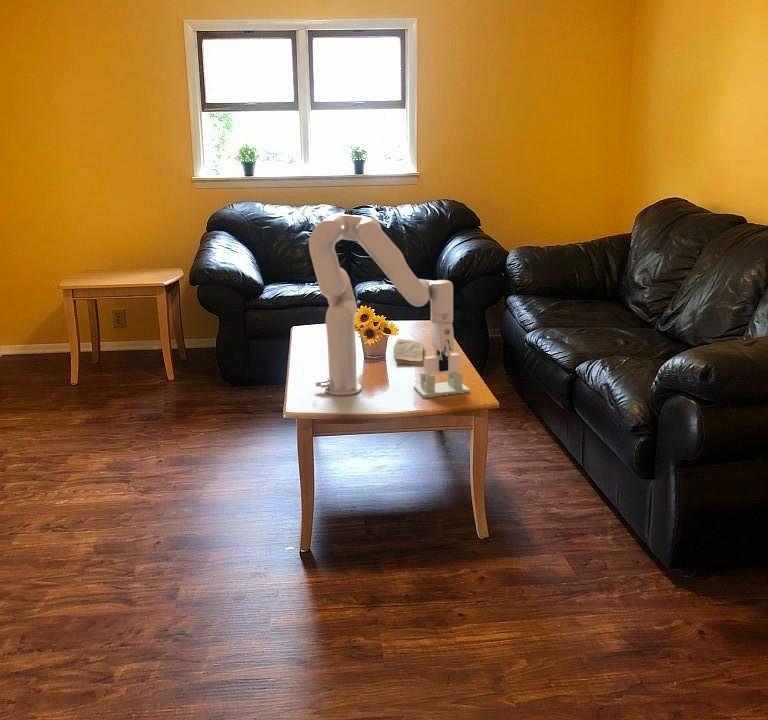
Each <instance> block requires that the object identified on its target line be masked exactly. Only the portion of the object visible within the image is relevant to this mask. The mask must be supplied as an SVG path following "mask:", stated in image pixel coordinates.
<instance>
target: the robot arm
mask: <svg viewBox="0 0 768 720" xmlns="http://www.w3.org/2000/svg"><path fill="white" fill-rule="evenodd" d="M340 240H345V241H355V242H357V243H359V245H360V246H361V247H362V248H363V250H365V252H366V253H367V254H368V255H369V257H371V258H372V260H373V261H374V262H375V264H377V265H378V267H379V268H380V269H381V270H382V272H383V274H385V276H386V277H387V278H388V279H389V280H390V282H391V283H392V284H393V286H394V288H395V289H396V290H397V291H398V293H400V295H402V297H403V298H404V299H405V300H406V301H407V302H408V304H410V305H412V306H413V307H418V308H419V307H423V306H425V305H426V304H428V302H429V301H430V323H431V345H432V347H433V348H434V352H435V354H434V356H435V355H440V360H439V371H448V360H449V356H450V354H451V352H454V351H455V341H454V340H455V337H454V336H455V335H454V333H455V332H454V327H453V325H454V324H453V322H454V285H453V282H452V281H450V280H448V279H447V280H446V279H437V280H431V279H422V278H418V277H417V275H415V274H414V272H413V270H412V269H411V268H410V267H409V265H408V263H407V262H406V259H405V256H404V254H403V253H402V252H401V250H400V249H399V247H397V246H396V244H395V243H394V242H393V241H392V240H391V238H390V237H388V235H387V234H386V233H385V232H384V231H383V230H382V226H381V223H380V222H379V221H378V220H377V219H375V218H373V217H369V216H360V215H351V214H342V213H332V214H329V215H328V216H326V217H324V219H322V220H321V221H320V222H319V223H318V224H317V225H316V226H315V227H314V228H313V230H312V232H311V234H310V236H309V240H308V248H309V254H310V257H311V258H310V259H311V261H312V266H313V269H314V273H315V277H316V280H317V285H318V288H319V291H320V293H321V295H323V297H325V298H326V299H327V303H328V307H327V310H326V313H325V326H326V327H325V328H326V337H327V338H326V339H327V340H326V341H327V358H328V359H327V360H328V361H327V362H328V376H327V377H326V378H325V379H324V380H317V381H316V380H315V386H316V387H320V388H321V389H323V388H324V390H325V391H324V392H326V393H327V394H329V395H333V396H351V395H355V394H358V393H360V392H361V391H362V385H361V383H360V384H359V383H358V382H357V352H356V351H357V350H356V349H357V348H356V347H357V346H356V331H355V330H356V329H355V328H356V327H355V320H356V316H357V314H358V305H357V301H356V298H355V294H354V290H353V287H352V284H351V282H352V281H351V279H350V276H349V275H348V273H347V271H346V270H345V269H344V268H343V267H341V266H340V262H339V258H338V255H337V254H338V253H337V252H336V249H335V246H336V244H337V243H338V242H340Z"/></svg>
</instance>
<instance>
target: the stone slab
mask: <svg viewBox="0 0 768 720" xmlns="http://www.w3.org/2000/svg"><path fill="white" fill-rule="evenodd" d="M424 346H425V345H424V343H423V342H421V341H415V340H412V339H402V338H401V339H400V338H398V339H397V340H396V342H395V344H394V346H393V348H392V349H393V353H394V361H395V362H396V363H397V365H405V364H406V365H408V364H409V366H412V365H420V366H423V365H424V348H425V347H424Z"/></svg>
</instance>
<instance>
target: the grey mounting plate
mask: <svg viewBox="0 0 768 720" xmlns="http://www.w3.org/2000/svg"><path fill="white" fill-rule="evenodd" d="M463 377H464V376H463V373H462V372H451V373H447V381H445V382H436V376H435V375H428V376H427V375H426V374H424V371H422V372H420V384H418V385H416V384H415V385H413V387H412V388H414V389H413V390H414V391H415V390H416V391H415V392H416V393H417V392H418V393H417V394H418V395H419V396H420V395H421V396H422V397H421V396H420V397H421V398H422V399H427V397H429V398H436V397H435V396H437V397H443V396H442V395H446V396H449V395H448V394H454V393H462V392H470V393H471V389H470V388H469V387H468V386H466V385H465V384H464V383H463V382H464V381H463V379H464V378H463ZM454 395H455V394H454Z"/></svg>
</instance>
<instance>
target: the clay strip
mask: <svg viewBox="0 0 768 720" xmlns="http://www.w3.org/2000/svg"><path fill="white" fill-rule="evenodd" d="M460 356H461V355H460V354H459V353H458V352H452V353H451V352H450V356H449V360H448V371H439V360H440V355H435V354H434V355H430V356H429V355H428V356H423V368H424V371H423V372H424V374H426V375H427V376H428V375H430V376H435V375H441V374H442V375H444V374H448V373H451V372H457V373H460V372H461V370H460V369H461V364H460V362H461V359H460Z"/></svg>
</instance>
